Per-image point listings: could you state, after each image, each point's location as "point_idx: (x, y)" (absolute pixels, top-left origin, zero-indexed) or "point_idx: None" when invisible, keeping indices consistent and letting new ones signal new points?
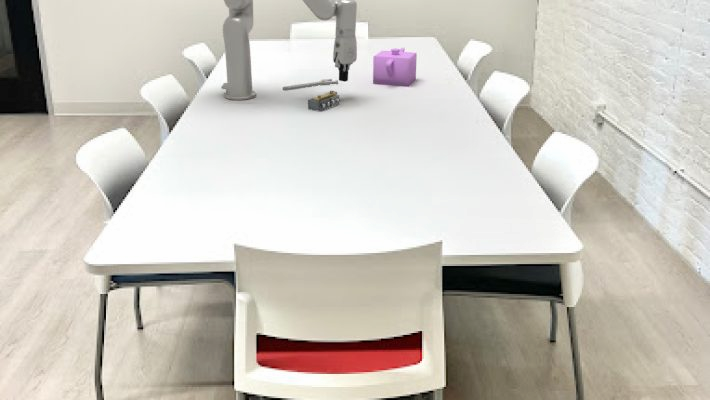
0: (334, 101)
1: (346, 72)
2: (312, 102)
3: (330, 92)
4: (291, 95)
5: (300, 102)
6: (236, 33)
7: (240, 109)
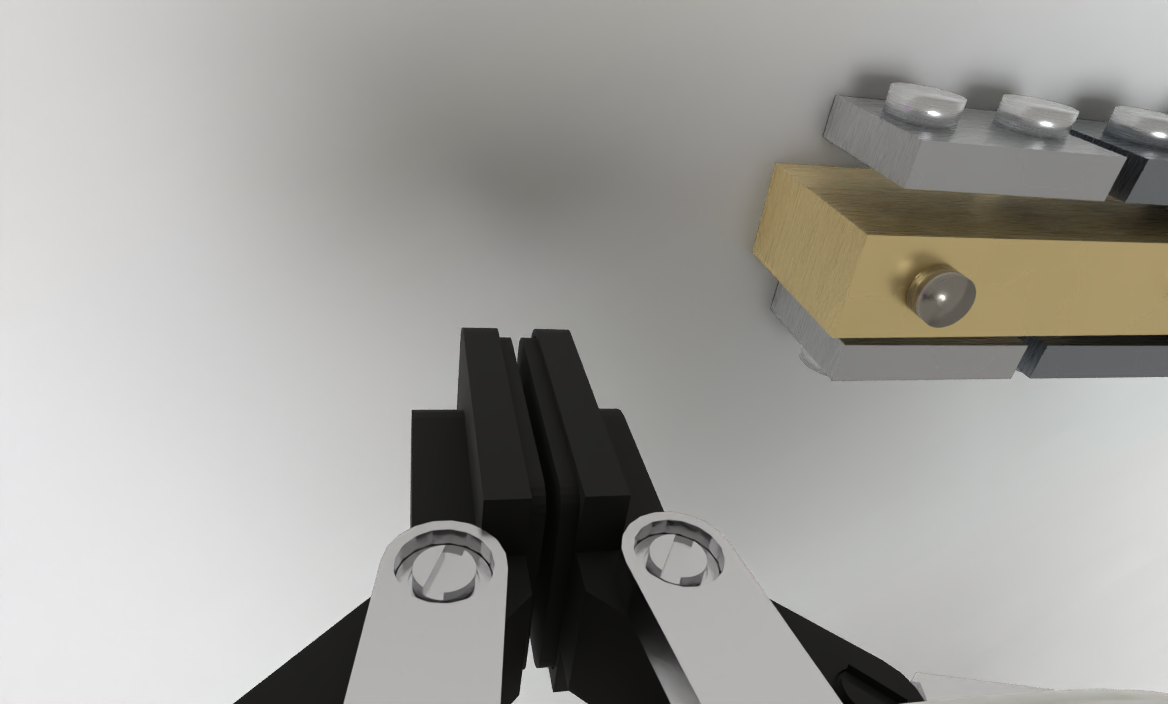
0: (1048, 106)
1: (590, 472)
2: None
3: (959, 295)
4: None
5: (863, 508)
6: None
7: (1130, 663)
